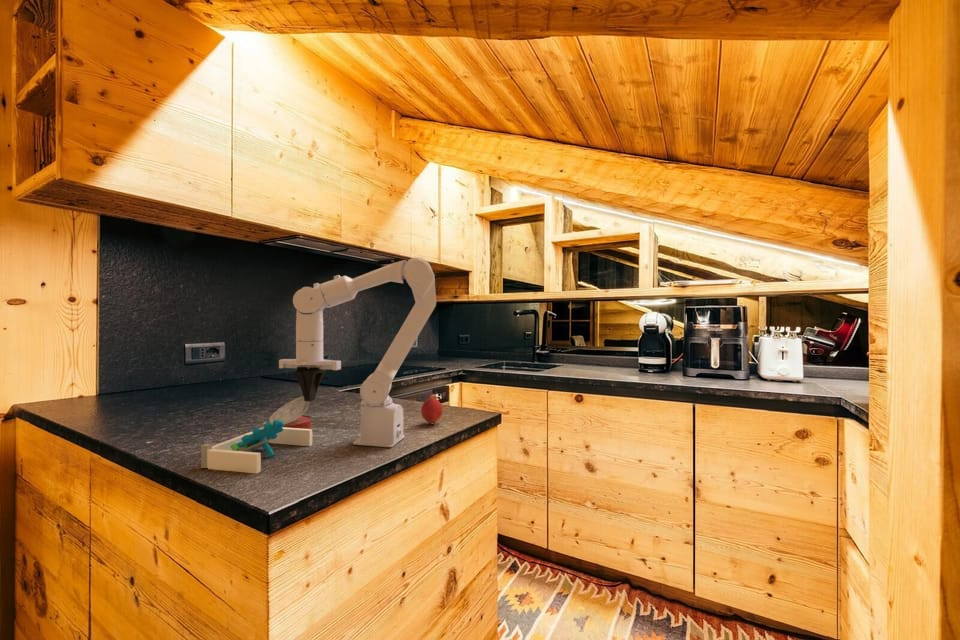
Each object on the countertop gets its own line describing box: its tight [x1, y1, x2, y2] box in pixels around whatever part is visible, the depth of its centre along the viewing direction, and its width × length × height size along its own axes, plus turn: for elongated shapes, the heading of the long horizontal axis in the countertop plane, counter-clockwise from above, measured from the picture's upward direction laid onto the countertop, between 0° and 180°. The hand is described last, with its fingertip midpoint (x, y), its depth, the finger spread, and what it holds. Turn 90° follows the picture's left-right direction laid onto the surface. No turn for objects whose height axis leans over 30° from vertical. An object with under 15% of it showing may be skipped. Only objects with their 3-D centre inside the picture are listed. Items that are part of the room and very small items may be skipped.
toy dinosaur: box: [230, 420, 285, 458], centre depth 83 cm, size 11×6×10 cm
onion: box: [420, 394, 444, 424], centre depth 109 cm, size 6×6×8 cm
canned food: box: [268, 395, 312, 429], centre depth 102 cm, size 11×10×10 cm
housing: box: [200, 421, 313, 475], centre depth 84 cm, size 12×17×4 cm
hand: (309, 400), depth 92 cm, fingers closed
